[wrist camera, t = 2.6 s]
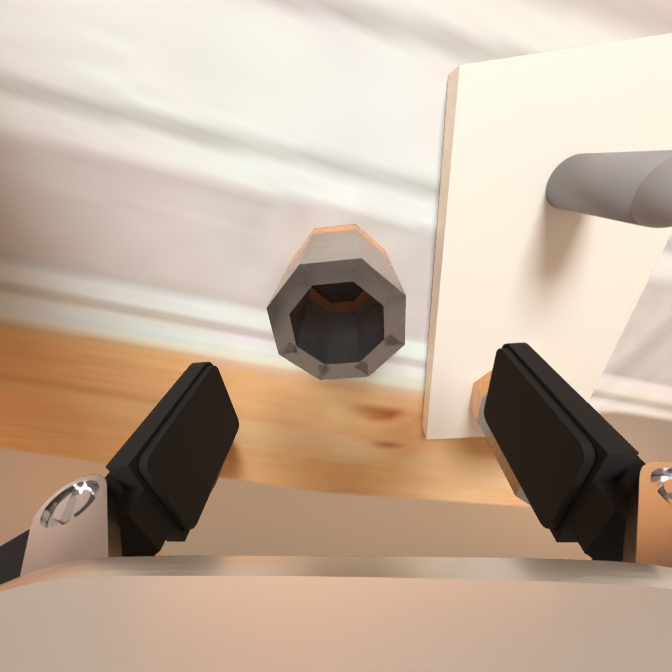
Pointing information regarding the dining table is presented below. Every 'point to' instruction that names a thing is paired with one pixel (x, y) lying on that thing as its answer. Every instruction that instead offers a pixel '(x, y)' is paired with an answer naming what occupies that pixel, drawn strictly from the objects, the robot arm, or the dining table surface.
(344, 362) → the loose sleeve
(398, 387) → the dining table surface
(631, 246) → the pin board
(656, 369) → the dining table surface
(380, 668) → the robot arm
